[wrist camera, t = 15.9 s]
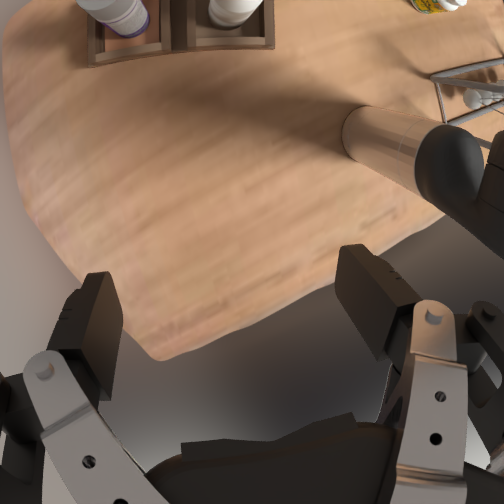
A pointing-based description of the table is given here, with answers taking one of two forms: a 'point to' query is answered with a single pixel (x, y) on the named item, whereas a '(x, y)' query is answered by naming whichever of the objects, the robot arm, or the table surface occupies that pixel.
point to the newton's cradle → (473, 93)
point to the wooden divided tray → (187, 30)
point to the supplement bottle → (437, 5)
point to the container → (119, 15)
